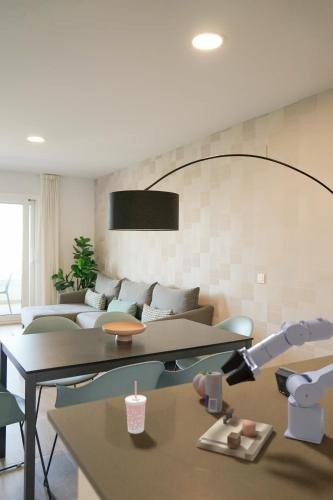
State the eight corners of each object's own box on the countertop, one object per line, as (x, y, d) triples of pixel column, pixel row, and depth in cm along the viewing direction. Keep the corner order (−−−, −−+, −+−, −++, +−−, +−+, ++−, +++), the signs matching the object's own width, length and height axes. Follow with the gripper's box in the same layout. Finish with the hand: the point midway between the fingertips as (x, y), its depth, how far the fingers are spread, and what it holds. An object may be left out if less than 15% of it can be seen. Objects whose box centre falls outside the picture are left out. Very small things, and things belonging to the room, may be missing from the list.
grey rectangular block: (230, 417, 121) (234, 409, 121) (227, 420, 119) (230, 413, 118) (228, 415, 122) (232, 408, 121) (224, 419, 119) (228, 411, 119)
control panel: (273, 430, 117) (273, 420, 117) (252, 461, 100) (252, 449, 100) (223, 420, 124) (223, 410, 124) (196, 446, 107) (196, 436, 107)
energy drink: (211, 405, 135) (211, 369, 135) (225, 409, 132) (225, 372, 132) (202, 410, 131) (202, 373, 131) (216, 415, 128) (216, 376, 128)
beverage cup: (137, 423, 122) (136, 376, 122) (150, 430, 117) (150, 381, 117) (120, 429, 118) (120, 381, 117) (134, 436, 113) (134, 386, 113)
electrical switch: (304, 397, 143) (303, 371, 142) (294, 401, 140) (292, 375, 140) (284, 389, 151) (282, 364, 151) (274, 393, 148) (272, 368, 148)
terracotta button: (257, 433, 113) (257, 422, 113) (253, 438, 109) (253, 427, 109) (244, 430, 114) (244, 419, 114) (240, 435, 111) (240, 424, 111)
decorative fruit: (224, 400, 140) (224, 371, 140) (206, 405, 135) (206, 375, 135) (207, 392, 148) (207, 364, 148) (188, 397, 143) (188, 368, 143)
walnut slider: (240, 443, 105) (240, 434, 105) (236, 448, 103) (236, 438, 103) (231, 441, 106) (231, 431, 106) (227, 446, 104) (227, 436, 104)
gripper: (251, 330, 121) (213, 355, 122) (266, 348, 107) (222, 376, 107) (264, 349, 122) (225, 374, 123) (279, 370, 108) (236, 397, 108)
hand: (224, 376), depth 115 cm, fingers open, 7 cm apart
